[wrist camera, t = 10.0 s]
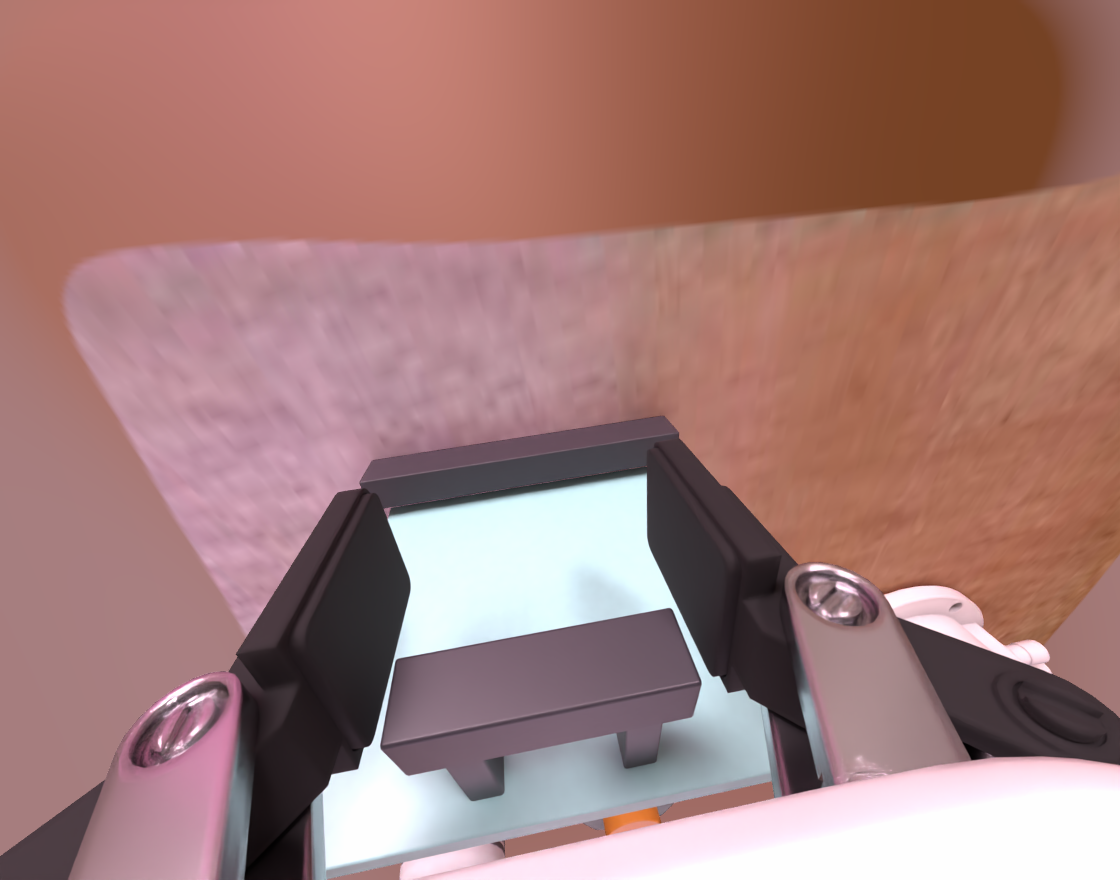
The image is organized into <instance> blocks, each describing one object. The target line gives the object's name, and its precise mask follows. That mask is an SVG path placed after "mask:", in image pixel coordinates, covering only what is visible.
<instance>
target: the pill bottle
mask: <svg viewBox="0 0 1120 880" xmlns="http://www.w3.org/2000/svg"><path fill="white" fill-rule="evenodd" d="M500 859H505V840H503V841H498V842H494V843H489V844H485V845H480V846H476V847H471V848H467V849H462V850H458V851H453V852H449V853H444V854H439V855H435V856H430V857H426V858H421V859H417V860H412V861H408V862H403V863H402V864H401V869H400V880H412V879H416V878H421V877H425V876H430V875H434V874H438V873H443V872H447V871H452V870H456V869H461V868H465V867H469V866H474V865H478V864H483V863H487V862H491V861H496V860H500Z"/></svg>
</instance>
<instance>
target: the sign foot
mask: <svg viewBox="0 0 1120 880" xmlns="http://www.w3.org/2000/svg"><path fill="white" fill-rule="evenodd" d="M672 439H679V432H678V431H677V430H676V429H675V428H674V426H673V425H672V424H671V423H670V422H669V421H668V420H667V419H666V418H665V416H658V417H652V418H645V419H639V420H632V421H626V422H619V423H613V424H606V425H600V426H593V427H587V428H580V429H574V430H567V431H561V432H554V433H548V434H541V435H535V436H528V437H522V438H515V439H509V440H502V441H496V442H489V443H483V444H476V445H470V446H463V447H457V448H450V449H444V450H437V451H431V452H424V453H418V454H411V455H405V456H398V457H392V458H385V459H379V460H373V461H371V463H370V465H369V467H368V468H367V470H366V472H365V474H364V475H363V477H362V479H361V481H360V486H361V488H366V489H367V490H368V491H369V492H370V493H376V494H377V495H378V497H379V499H380V501H381V504H382V506H383V508H389V507H395V506H402V505H408V504H414V503H420V502H426V501H432V500H439V499H445V498H451V497H457V496H463V495H470V494H476V493H482V492H488V491H494V490H500V489H507V488H513V487H519V486H525V485H531V484H537V483H544V482H550V481H556V480H562V479H568V478H575V477H581V476H587V475H593V474H599V473H605V472H612V471H618V470H624V469H630V468H636V467H642V466H647V450H648V449H653V448H654V444H655V442H659V441H666V440H672Z"/></svg>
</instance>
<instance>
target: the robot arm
mask: <svg viewBox="0 0 1120 880" xmlns="http://www.w3.org/2000/svg"><path fill="white" fill-rule="evenodd" d="M647 539H648V544H649V548H650V550H651V552H652V554H653V557H654V559H655V561H656V563H657V565H658V567H659V569H660V571H661V573H662V575H663V578H664V580H665V582H666V584H667V586H668V588H669V590H670V592H671V594H672V596H673V599H674V601H675V603H676V605H677V607H678V609H679V611H680V613H681V615H682V617H683V620H684V622H685V624H686V626H687V628H688V630H689V632H690V634H691V636H692V638H693V641H694V643H695V645H696V647H697V649H698V651H699V653H700V655H701V657H702V659H703V662H704V664H705V666H706V668H707V670H708V672H709V673H710V675H711V676H712V677H717V676H720V678H721V680H722V682H723V684H724V686H725V688H726V690H727V692H728V693H732V692H737V691H742V690H746V692H747V694H748V696H749V698H750V699H752V700H753V701H755V702H757V703H759V704H760V706H761V713H762V719H763V726H764V733H765V739H766V746H767V752H768V759H769V766H770V772H771V779H772V785H773V791H774V799H770V800H765V801H760V802H756V803H751V804H747V805H743V806H738V807H733V808H729V809H724V810H720V811H715V812H711V813H706V814H702V815H697V816H692V817H688V818H683V819H679V820H674V821H670V822H666V823H660V824H656V825H651V826H647V827H642V828H638V829H633V830H629V831H624V832H620V833H616V834H611V835H607V836H602V837H598V838H593V839H589V840H585V841H580V842H576V843H571V844H567V845H562V846H558V847H553V848H549V849H545V850H541V851H536V852H532V853H527V854H522V855H518V856H513V857H509V858H505V859H500V860H496V861H491V862H487V863H483V864H478V865H474V866H469V867H465V868H461V869H456V870H452V871H447V872H443V873H438V874H434V875H430V876H425V877H421V878H416V879H412V880H1120V718H1119V717H1118V716H1117V715H1116V714H1115V713H1114V712H1113V711H1111V710H1110V709H1109V708H1107V707H1106V706H1105V705H1104V704H1102V703H1101V702H1100V701H1098V700H1097V699H1096V698H1094V697H1093V696H1092V695H1090V694H1089V693H1087V692H1085V691H1084V690H1082V689H1080V688H1079V687H1077V686H1075V685H1074V684H1072V683H1070V682H1069V681H1066V680H1064V679H1062V678H1060V677H1057V676H1055V675H1053V674H1052V673H1051V671H1050V669H1049V668H1048V667H1047V666H1046V665H1045V664H1044V663H1046V662H1048V661H1049V660H1050V655H1049V653H1048V651H1047V649H1046V648H1045V647H1044V646H1043V645H1042V644H1040V643H1038V642H1036V641H1034V640H1024V641H1019V642H1015V643H1011V644H1009V645H1006V646H1004V645H1002V644H1001V643H1000V642H999V641H997V640H996V639H995V638H994V637H992V636H991V635H990V634H989V633H988V632H986V631H985V630H984V629H983V624H984V620H983V616H982V612H981V610H980V609H979V608H978V607H977V605H976V604H975V603H973V602H972V601H971V600H969V599H968V598H967V597H965V596H964V595H963V594H961V593H960V592H959V591H956V590H954V589H951V588H949V587H942V586H916V587H911V588H905V589H900V590H897V591H894V592H891V593H888V594H885V595H883V593H882V592H881V590H879V589H878V588H877V587H876V586H875V585H874V584H872V583H871V582H870V581H869V580H867V579H866V578H864V577H862V576H861V575H859V574H857V573H855V572H854V571H851V570H848V569H846V568H843V567H841V566H838V565H833V564H828V563H823V562H808V563H804V564H800V565H798V564H797V563H796V562H795V561H794V560H793V559H792V557H791V556H790V555H789V554H788V553H787V552H786V551H785V550H784V549H783V547H782V546H781V545H780V544H779V543H778V542H777V541H776V540H775V539H774V537H773V536H772V535H771V534H770V533H769V532H768V531H767V530H766V529H765V527H764V526H763V525H762V524H761V523H760V522H759V521H758V520H757V519H756V517H755V516H754V515H753V514H752V513H751V512H750V511H749V510H748V509H747V507H746V506H745V505H744V504H743V503H742V502H741V501H740V500H739V499H738V498H737V496H736V495H735V494H734V493H733V492H732V491H731V490H730V489H729V488H728V487H726V486H721V485H720V484H719V483H718V482H717V480H716V479H715V478H714V477H713V476H712V475H711V474H710V472H709V471H708V470H707V469H706V468H705V467H704V466H703V465H702V463H701V462H700V461H699V460H698V459H697V458H696V457H695V455H694V454H693V453H692V452H691V451H690V450H689V449H688V447H687V446H686V445H685V444H684V443H683V442H682V441H681V440H680V439H672V440H666V441H659V442H655V444H654V448H653V449H648V450H647ZM410 591H411V582H410V577H409V574H408V571H407V569H406V566H405V564H404V561H403V558H402V556H401V553H400V551H399V548H398V545H397V543H396V540H395V538H394V535H393V532H392V530H391V527H390V525H389V522H388V519H387V517H386V514H385V512H384V509H383V506H382V504H381V501H380V499H379V497H378V495H377V494H376V493H370V492H369V491H368V490H367V489H366V488H362V489H356V490H349V491H343V492H338V493H337V494H336V495H335V497H334V498H333V500H332V502H331V503H330V505H329V506H328V508H327V510H326V511H325V513H324V514H323V516H322V518H321V519H320V521H319V522H318V524H317V526H316V527H315V529H314V530H313V532H312V534H311V535H310V537H309V538H308V540H307V541H306V543H305V545H304V546H303V548H302V549H301V551H300V553H299V554H298V556H297V557H296V559H295V561H294V562H293V564H292V565H291V567H290V569H289V570H288V572H287V573H286V575H285V577H284V578H283V580H282V581H281V583H280V585H279V586H278V588H277V589H276V591H275V593H274V594H273V596H272V597H271V599H270V600H269V602H268V604H267V605H266V607H265V608H264V610H263V612H262V613H261V615H260V616H259V618H258V620H257V621H256V623H255V624H254V626H253V628H252V629H251V631H250V632H249V634H248V636H247V637H246V639H245V641H244V642H243V644H242V645H241V647H240V648H239V650H238V652H237V653H236V655H237V656H238V657H237V659H236V660H235V662H234V664H233V665H232V667H231V669H230V670H229V672H225V671H221V672H213V673H208V674H205V675H202V676H199V677H196V678H193V679H191V680H189V681H188V682H186V683H184V684H182V685H180V686H178V687H177V688H175V689H173V690H172V691H170V692H169V693H168V694H166V695H165V696H164V697H162V698H161V699H160V700H158V701H157V702H155V703H154V704H153V705H152V706H151V707H150V708H149V709H148V710H147V711H146V712H145V713H144V714H142V715H141V716H140V717H139V718H138V720H137V721H136V722H135V723H134V725H133V726H132V727H131V728H130V729H129V731H128V732H127V733H126V734H125V736H124V738H123V739H122V741H121V743H120V745H119V747H118V749H117V751H116V753H115V755H114V758H113V761H112V763H111V766H110V769H109V771H108V774H107V777H106V779H105V780H104V781H103V782H101V783H100V784H99V785H97V786H96V787H95V788H93V789H92V790H91V791H89V792H88V793H86V794H85V795H83V796H82V797H81V798H79V799H78V800H77V801H75V802H74V803H72V804H71V805H70V806H68V807H67V808H66V809H64V810H63V811H62V812H60V813H59V814H57V815H56V816H55V817H53V818H52V819H51V820H49V821H48V822H47V823H45V824H44V825H42V826H41V827H40V828H38V829H37V830H36V831H34V832H33V833H31V834H30V835H29V836H27V837H26V838H25V839H23V840H22V841H20V842H19V843H18V844H16V845H15V846H14V847H12V848H11V849H9V850H8V851H7V852H5V853H4V854H3V855H1V856H0V880H326V860H325V835H324V810H323V791H324V790H325V789H326V788H327V787H328V785H329V782H330V778H331V775H332V774H337V773H342V772H347V771H352V770H357V769H358V768H359V764H360V761H361V757H362V753H363V749H364V748H365V747H369V746H370V745H371V744H372V742H373V739H374V736H375V733H376V729H377V725H378V721H379V717H380V712H381V708H382V704H383V700H384V696H385V692H386V688H387V684H388V680H389V676H390V672H391V668H392V664H393V660H394V656H395V652H396V648H397V644H398V640H399V636H400V632H401V628H402V624H403V620H404V616H405V612H406V608H407V604H408V600H409V596H410Z"/></svg>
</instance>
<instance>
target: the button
mask: <svg viewBox="0 0 1120 880" xmlns="http://www.w3.org/2000/svg"><path fill="white" fill-rule="evenodd" d="M603 823H604V828H605V834H606V836H607V835H611V834H616V833H620V832H624V831H629V830H633V829H638V828H642V827H647V826H651V825H656V824H660V823H661V820H660V817H659V813H658V809H657V807H653V808H648V809H643V810H639V811H634V812H630V813H625V814H621V815H616V816H612V817H607V818H603Z"/></svg>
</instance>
